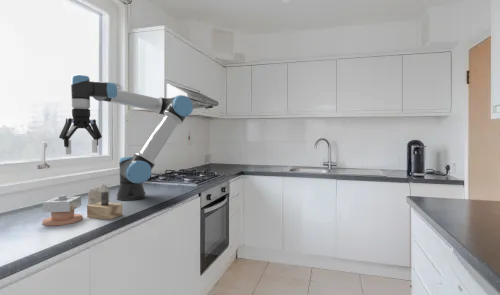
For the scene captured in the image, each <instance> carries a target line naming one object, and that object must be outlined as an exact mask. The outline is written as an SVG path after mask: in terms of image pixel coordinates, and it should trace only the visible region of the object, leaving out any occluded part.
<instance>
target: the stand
mask: <svg viewBox="0 0 500 295" xmlns="http://www.w3.org/2000/svg"><path fill="white" fill-rule="evenodd" d="M86 209H87V210H86V214H87V215H86V217H87V218H94V219H99V220H105V221H108V220H113V219H114V218H117V217H118V218H119V217H121V216H123V203H116V202H111V201H110V202H108V192H101V202H99V203H95V204H91V205H86Z"/></svg>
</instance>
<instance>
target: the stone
mask: <svg viewBox="0 0 500 295" xmlns="http://www.w3.org/2000/svg"><path fill="white" fill-rule="evenodd" d="M101 192H108V202H110V203H111V200H110V195H111V194H110V193H111V192H110V187H109V186H107V184H105V183H100V184H97V185H96V186H93V188H91V189H89V191H88V192H87V204H88V205H91V204H95V203H99V202H101Z"/></svg>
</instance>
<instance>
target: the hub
mask: <svg viewBox="0 0 500 295" xmlns="http://www.w3.org/2000/svg"><path fill="white" fill-rule="evenodd" d="M57 197H58V201H63V200H67V197H68V196H67V194H62V195H61V194H60V195H57ZM50 214H51V215H50V217H46V218H44V219H43V220H42V225H43V226H47V227H58V226H59V227H60V226H67V225H72V224H75V223H78V222H80V221H82V220H83V217H84V216H83V215H82V214H80V213H75V209H74V210H72V211H70V212H50Z"/></svg>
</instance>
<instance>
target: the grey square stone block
mask: <svg viewBox="0 0 500 295" xmlns="http://www.w3.org/2000/svg"><path fill="white" fill-rule="evenodd" d="M81 206H82V196H81V195H80V196H67V200H63V201H58V196H55V197H53V198H51V199H48V200H46V201H43V202H42V213H51V212H70V211H72V210H74V211H75V209H77V208H80V207H81Z"/></svg>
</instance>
